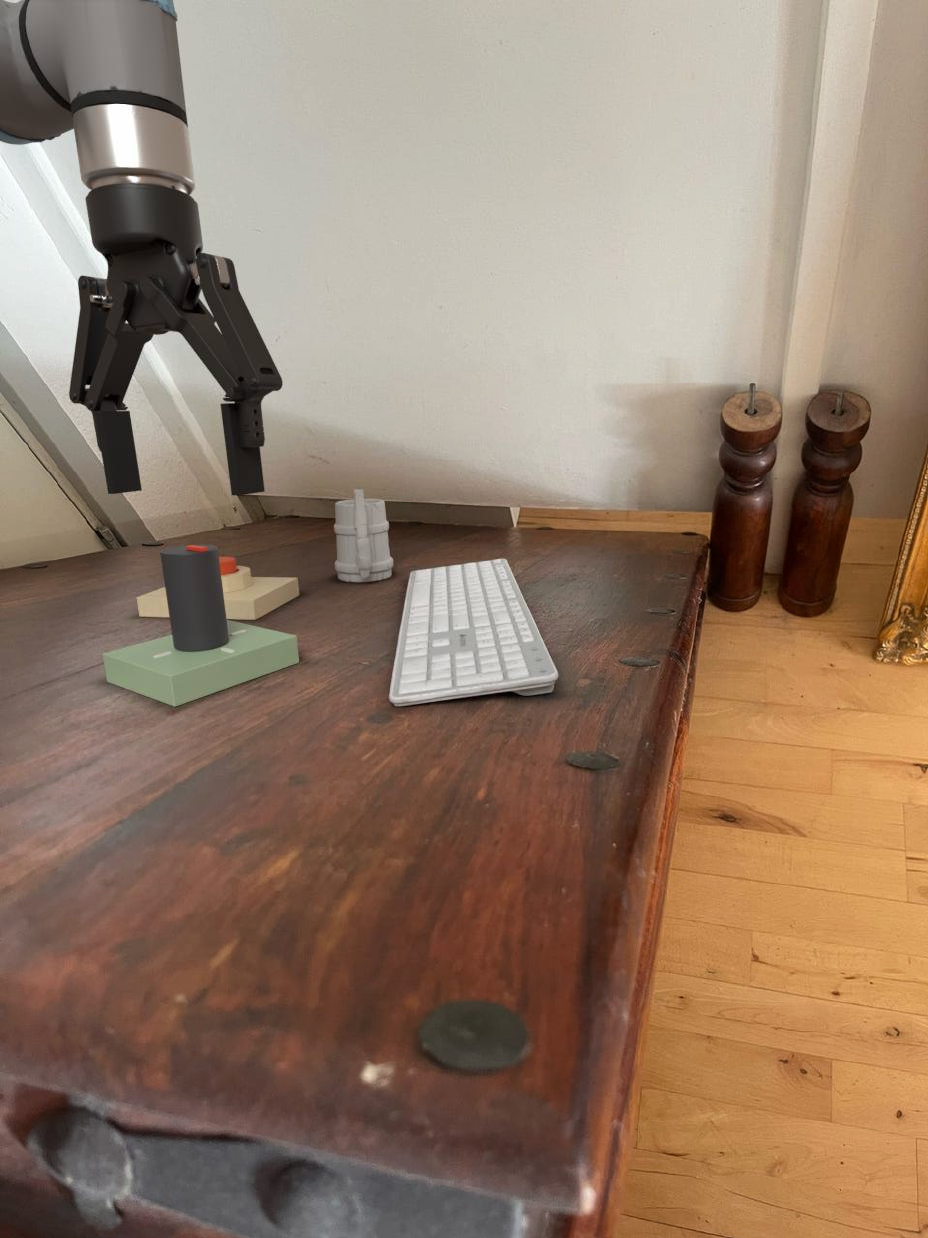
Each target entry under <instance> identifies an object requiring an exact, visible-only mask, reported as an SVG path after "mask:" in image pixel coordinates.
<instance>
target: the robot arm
mask: <svg viewBox="0 0 928 1238" xmlns="http://www.w3.org/2000/svg"><path fill="white" fill-rule="evenodd" d="M177 22H178V13H177V11H176V10H175V4H174V0H19V1H17V2H11V1H7V0H0V142H2V143H5V144H9V145H15V146H23V145H29V144H33V143H43V142H45V141H52V140H54V139H56V138H59V137H61V136H62V135H64V134H65V133H67V132H70V131H72V130H73V131H74V132H73V133H74V138H75V145H76V146H75V147H76V152H77V160H78V165H79V173H80V179H81V182H82V183H83V185H84V186H85V187H86V188H87V189H89V192H88V193H87V195H86V196H85V198H84V199H85V206H86V211H87V218H88V224H89V231H90V237H91V244H92V246H93V248H94V249H95V250H96V251H97V252H98V253H99V254H101V255H102V256H103V257H104V259H105V261H106V264H107V276H106V278H101V277H95V276H89V275H83V274H82V275H80V276H79V277H78V279H77V287H78V299H79V315H78V321H77V329H76V336H75V345H74V352H73V360H72V369H71V375H70V384H69V390H68V397H69V400H70V402H71V403H72V404H76V405H78V404H79V405H82V406H84V407H86V409H87V410H88V411H90V413H91V415H92V420H93V427H94V432H95V437H96V444H97V447H98V450H99V452H100V453H101V459H102V465H103V470H104V476H105V482H106V489H107V494H108V495H118V494H124V493H134V492H140V491H141V492H142V491H143V490H142V482H141V476H140V469H139V464H138V463H139V462H138V456H137V450H136V443H135V437H134V431H133V424H132V417H131V411H130V410H128V408H129V407H128V406H127V405H126V403H124V399H125V397H126V394H127V391H128V389H129V386H130V384H131V381H132V378H133V376H134V373H135V370H136V368H137V366H138V363H139V360H140V358H141V355H142V352H143V349H144V347H145V345H146V344H147V343H150V342H151V341H152V340H153V338H154V336H155V335H156V336H161V335H166V334H167V333H169V332H173V333H179V334H180V335H181V336H182V337H183V338H184V340H185V341H186V342H187V344H188V345H189V346H190V348H191V350H193V352H194V353H195V354H196V355H197V357H198V359H200V361H201V362H202V364H203V365H204V366H205V368H206V369H207V370H208V372H209V373H210V374H211V375H212V377H213V378H214V380H215V381H216V382H217V383H218V385H219V387H220V388H221V389H222V390H223V392H224V393H225V395H224V397H222V400H223V401H224V403H220V404H219V405H220V413H221V420H222V427H223V428H222V429H223V436H224V446H225V452H226V453H225V454H226V458H227V459H226V460H227V468H228V478H229V485H230V493H231V496H245V495H251V494H258V493H265V481H264V473H263V465H262V464H263V463H262V456H261V447H264V446H265V441H266V438H265V428H264V419H263V410H262V402H263V400H264V398H265V397H266V396H267V395H269V394H271V393H272V392H278V391H280V390H281V389H282V388H283V378H282V376H281V374H280V371H279V369H278V367H277V366H276V364H275V362H274V359H273V357H272V356H271V353H270V351H269V349H268V347H267V345H266V343H265V340H264V339H263V337H262V335H261V332H260V330H259V328H258V326H257V325H256V322H255V320H254V318H253V316H252V314H251V312H250V310H249V308H248V306H247V304H246V302H245V299H244V297H243V295H242V293H241V292H240V288H239V282H238V277H237V272H236V268H235V264H234V261H233V260H232V259H231V258H229V257H225V256H219V255H215V254H210V253H206V252H203V250H204V243H203V242H204V241H203V236H202V227H201V219H200V218H201V217H200V211H199V203H198V202H197V201H196V200H195V199H194V198H193V196H192V195H191V194H193V192H194V191H195V189H196V183H195V175H194V173H195V172H194V166H193V157H192V149H191V141H190V133H189V124H188V117H187V116H188V115H187V108H186V99H185V98H186V97H185V90H184V81H183V80H184V79H183V73H182V64H181V55H180V45H179V38H178V37H179V36H178V29H177ZM201 292H202V295H203V298H204V301H205V302H206V305H207V306H208V308H209V309H208V308H207V307H206V305H205V303H204V302H203V301H202V300H201V299H200V295H201ZM216 325H217V326H216ZM86 386H89V387H86Z"/></svg>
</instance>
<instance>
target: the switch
mask: <svg viewBox="0 0 928 1238" xmlns="http://www.w3.org/2000/svg"><path fill="white" fill-rule="evenodd" d="M236 560H237V559H236V557H233V556H219V562H220V570H221V575H227V574H232V573H236V572H237V567H236V566H237V561H236Z"/></svg>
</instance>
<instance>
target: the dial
mask: <svg viewBox="0 0 928 1238" xmlns="http://www.w3.org/2000/svg"><path fill="white" fill-rule="evenodd" d="M159 552H160V553H159V554H160V561H161V568H162V574H163V583H164V587H165V589H166V596H167V603H168V610H169V617H170V618H169V623H170V624H169V625H170V631H171V635H172V638H173V644H174V648H175V649H177V650H180V651H203V650H209V649H214V648H217V647H220V646H223V645H225V644H226V643H228V641H229V635H228V627H227V620H228V619H226V611H225V603H224V594H223V586H222V578H221V570H220V562H219V557H220V556H219V548H218V546H216V545H213V544H188V545H179V546H173V547H168V548H165V549H162V550H161V551H159Z"/></svg>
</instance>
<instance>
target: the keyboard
mask: <svg viewBox="0 0 928 1238" xmlns="http://www.w3.org/2000/svg"><path fill="white" fill-rule="evenodd" d="M513 573H514V572H513V571H512V569H511V566H510V565H509V563H508V560H507V558H497V559H491V560H484V561H483V560H481V561H477V562H468V563H462V564H453V565H448V566H439V567H434V568H433V567H432V568H426V569H425V568H424V569H417V570H413V571H411V572H410V573H409V577H408V582H407V588H406V593H405V597H404V605H403V610H402V617H401V621H400V627H399V633H398V637H397V644H396V651H395V656H394V662H393V666H392V667H393V668H392V674H391V680H390V686H389V694H388V700H389V702H390V703H391V704H393V706H394V707H407V706H413V705H419V704H426V703H427V704H428V703H434V702H442V701H448V700H455V699H462V698H469V697H478V696H485V695H493V694H499V693H507V692H508V693H509V692H512V693H515V694H518V695H520V696H525V697H527V696H535V695H543V694H549V693H552V692H553V691H554V688H555V684H556V681H557V680H558V678H559V677H560V675H559V671H558V669H557V668H556V665H555V663H554V661H553V659H552V657H551V655H550V653H549V649H548V648H547V646H546V643H545V641H544V640H543V637H542V635H541V633H540V631H539V628H538V625H537V624H536V621H535V619H534V617H533V615H532V612H531V611H530V608H529V607H528V604H527V602H526V600H525V598H524V596H523V594H522V591H521V589H520V587H519V585H518V582H517V580H516V578H515V575H514V574H513Z"/></svg>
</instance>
